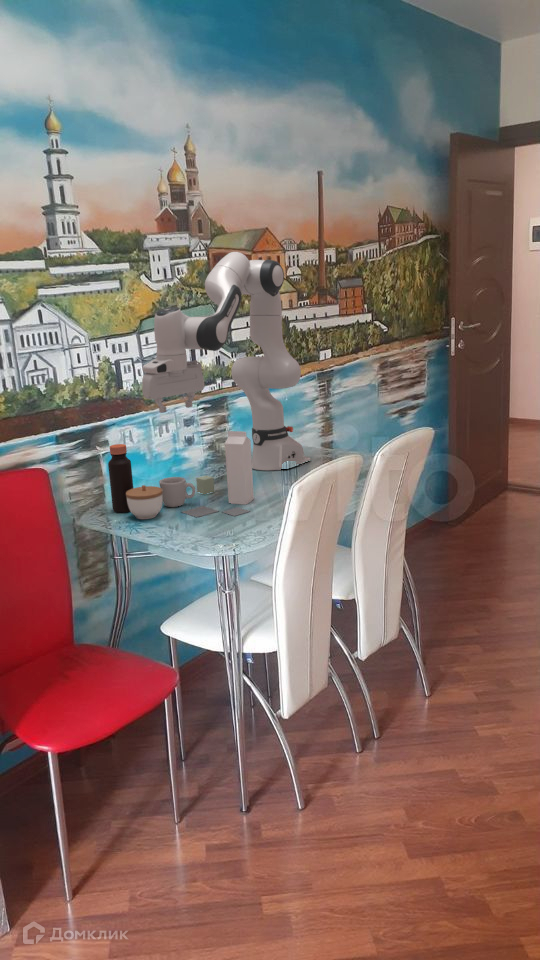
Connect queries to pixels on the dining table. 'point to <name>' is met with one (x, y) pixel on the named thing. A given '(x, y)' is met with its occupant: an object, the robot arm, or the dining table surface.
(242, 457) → the milk
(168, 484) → the cup
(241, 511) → the grey square coaster
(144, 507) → the lidded jar
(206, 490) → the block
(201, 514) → the thin grey square tile
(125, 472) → the vinegar
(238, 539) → the dining table surface
